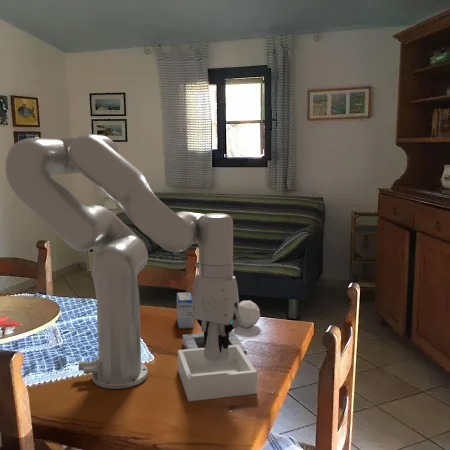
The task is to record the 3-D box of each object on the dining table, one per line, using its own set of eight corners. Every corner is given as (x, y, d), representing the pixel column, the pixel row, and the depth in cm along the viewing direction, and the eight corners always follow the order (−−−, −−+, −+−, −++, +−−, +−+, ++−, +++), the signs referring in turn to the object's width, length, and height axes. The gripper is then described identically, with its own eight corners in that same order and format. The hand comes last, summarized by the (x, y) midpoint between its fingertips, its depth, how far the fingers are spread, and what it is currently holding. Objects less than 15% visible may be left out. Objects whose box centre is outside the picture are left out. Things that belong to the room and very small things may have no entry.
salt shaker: (234, 365, 109) (234, 310, 107) (212, 371, 106) (212, 314, 104) (220, 356, 114) (220, 303, 112) (199, 362, 111) (198, 307, 109)
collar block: (191, 365, 118) (191, 356, 118) (182, 343, 132) (182, 334, 132) (246, 360, 122) (246, 351, 121) (232, 339, 135) (232, 330, 135)
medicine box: (176, 319, 150) (176, 292, 149) (190, 318, 151) (190, 291, 150) (178, 328, 143) (178, 300, 141) (193, 327, 144) (193, 299, 142)
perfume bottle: (270, 315, 144) (243, 331, 136) (254, 325, 150) (227, 340, 141) (257, 292, 145) (229, 306, 137) (241, 302, 151) (214, 316, 143)
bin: (188, 401, 102) (188, 379, 101) (177, 369, 116) (177, 350, 115) (256, 393, 105) (256, 371, 105) (238, 363, 120) (238, 344, 119)
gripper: (175, 268, 108) (177, 347, 111) (239, 278, 99) (239, 363, 102) (195, 262, 114) (196, 336, 117) (256, 271, 106) (256, 350, 109)
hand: (216, 348), depth 110 cm, fingers closed on salt shaker, 3 cm apart
